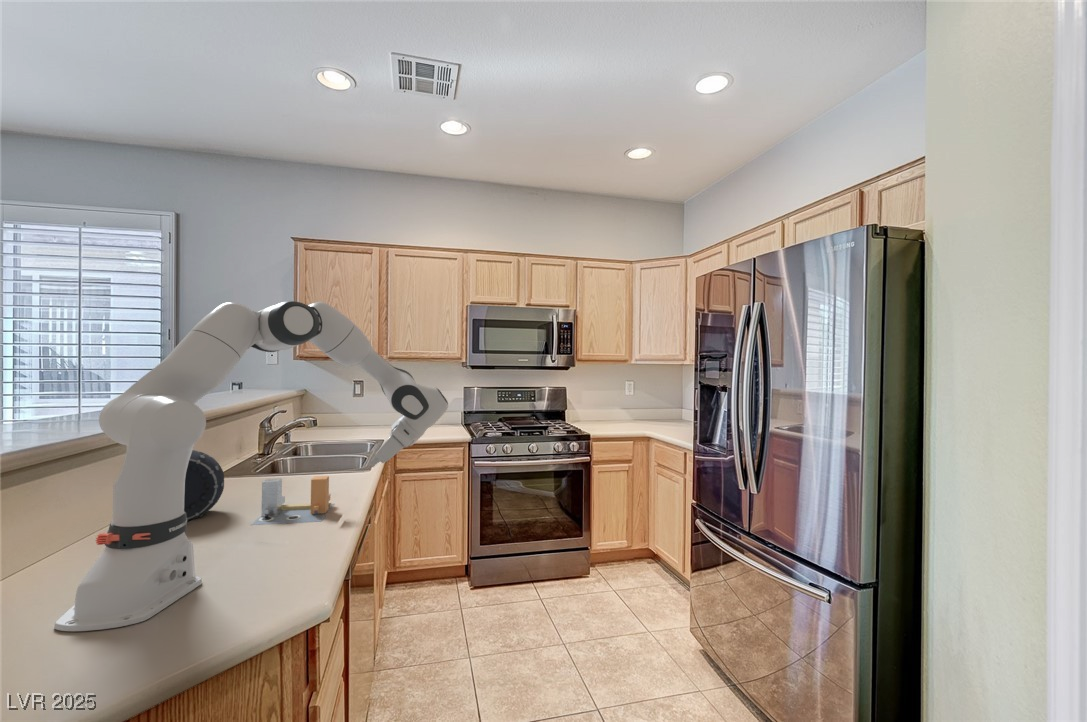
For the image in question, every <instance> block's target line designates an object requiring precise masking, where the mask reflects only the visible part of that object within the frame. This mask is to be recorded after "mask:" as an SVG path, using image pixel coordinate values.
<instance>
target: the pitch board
mask: <svg viewBox="0 0 1087 722" xmlns="http://www.w3.org/2000/svg"><path fill="white" fill-rule="evenodd" d="M334 506H335V503H332V502H329V505H328V510H327V512H326V513H319V514H316V515H315V514H311V503H299V504H298V503H297V504H282V505H281V513H280V514H279V515H278V516H277V517H268V518H265V517H261V515H260V516H259V517H258V518H257V519H256V520H254V521H253V522H252V523H251V524H250V526H260V525H276V524H277V525H280V524H281V525H282V524H297V523H298V524H299V523H302V524H303V523H316V522H317V523H318V522H320V523H321V522H323V520H324V519H325V518H326V516H327V515H328V514H329V513H330V511H331V510H332V509H333V507H334Z"/></svg>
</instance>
